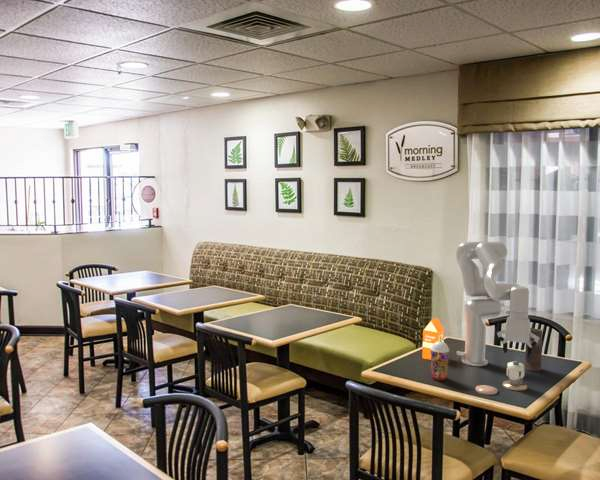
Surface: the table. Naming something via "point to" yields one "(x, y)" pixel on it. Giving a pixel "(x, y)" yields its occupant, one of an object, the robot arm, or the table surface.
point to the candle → (534, 352)
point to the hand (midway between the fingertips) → (517, 354)
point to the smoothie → (439, 360)
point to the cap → (515, 369)
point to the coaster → (486, 389)
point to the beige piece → (515, 384)
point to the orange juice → (431, 336)
